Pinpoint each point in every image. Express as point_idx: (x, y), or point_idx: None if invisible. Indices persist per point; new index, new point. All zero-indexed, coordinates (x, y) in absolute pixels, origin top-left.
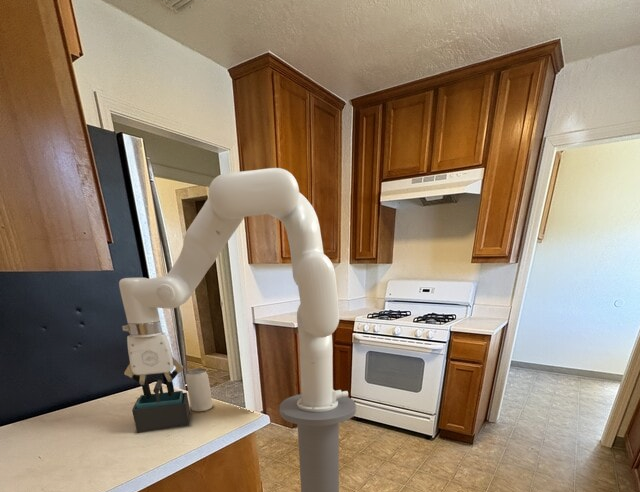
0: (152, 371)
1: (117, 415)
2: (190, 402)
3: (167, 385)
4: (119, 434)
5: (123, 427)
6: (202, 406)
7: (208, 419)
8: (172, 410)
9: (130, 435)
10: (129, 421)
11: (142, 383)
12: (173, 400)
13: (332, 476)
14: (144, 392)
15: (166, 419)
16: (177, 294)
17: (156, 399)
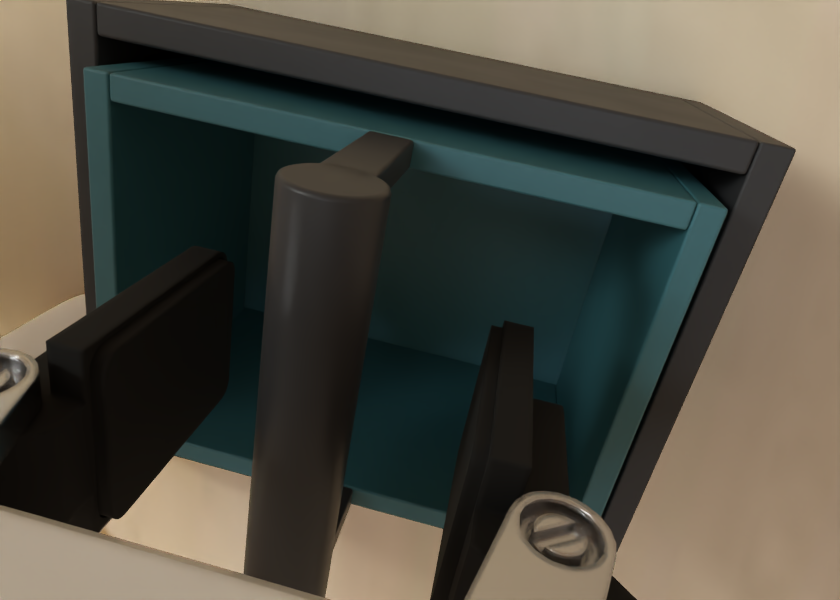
0: (66, 595)
1: (755, 597)
2: None
3: (115, 321)
4: None
5: (781, 323)
6: (83, 310)
7: (66, 81)
8: (275, 29)
9: (778, 77)
10: (701, 427)
11: (551, 520)
12: (184, 93)
13: None
14: (547, 417)
15: (394, 45)
16: None
17: (404, 149)
